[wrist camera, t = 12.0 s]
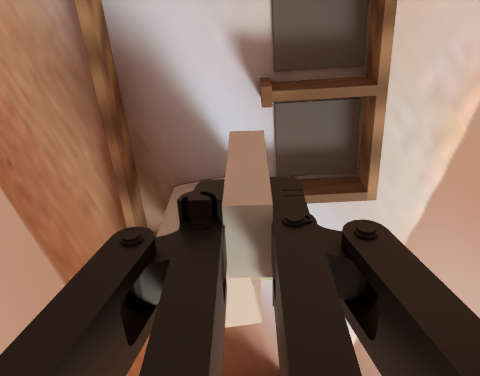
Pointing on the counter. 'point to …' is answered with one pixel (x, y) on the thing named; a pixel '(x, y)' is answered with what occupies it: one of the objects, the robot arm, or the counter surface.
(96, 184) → the counter surface
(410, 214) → the counter surface
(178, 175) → the counter surface
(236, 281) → the supplement box
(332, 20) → the mats
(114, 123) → the lane
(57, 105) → the counter surface
